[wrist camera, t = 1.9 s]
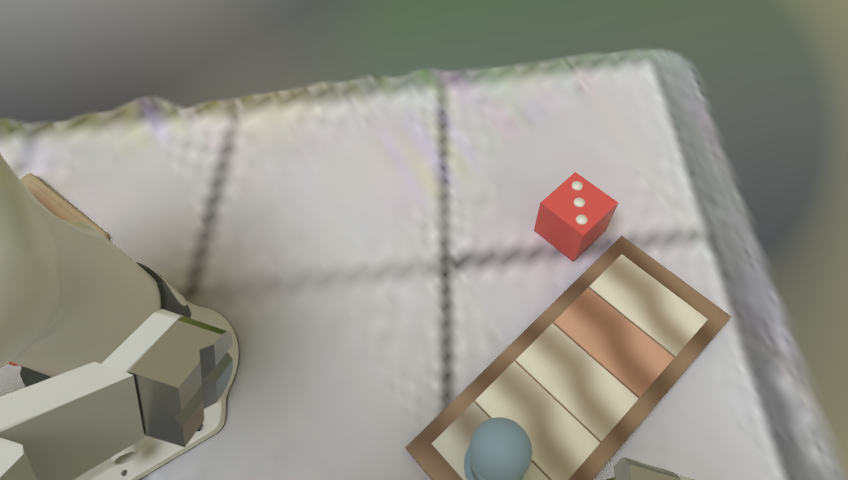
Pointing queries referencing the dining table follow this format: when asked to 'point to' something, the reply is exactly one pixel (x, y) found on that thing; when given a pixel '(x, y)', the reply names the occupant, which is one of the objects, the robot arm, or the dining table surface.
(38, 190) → the wooden puzzle
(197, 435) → the robot arm
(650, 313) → the game track
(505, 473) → the pawn
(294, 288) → the dining table surface
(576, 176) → the red die
